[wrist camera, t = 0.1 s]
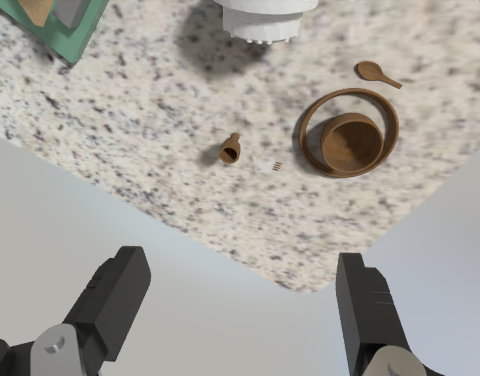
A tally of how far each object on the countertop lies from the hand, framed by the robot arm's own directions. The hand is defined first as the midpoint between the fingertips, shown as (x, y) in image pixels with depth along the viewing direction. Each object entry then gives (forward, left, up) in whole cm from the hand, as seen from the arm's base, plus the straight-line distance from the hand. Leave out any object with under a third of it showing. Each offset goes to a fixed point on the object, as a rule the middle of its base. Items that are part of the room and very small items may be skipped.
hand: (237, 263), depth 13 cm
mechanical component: (-9, 0, -30) cm, 31 cm away
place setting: (+5, +6, -30) cm, 32 cm away
